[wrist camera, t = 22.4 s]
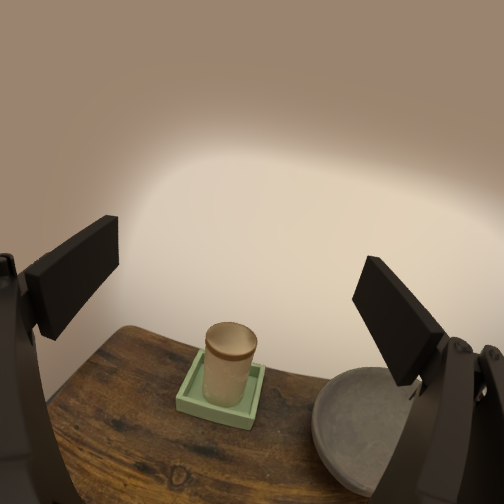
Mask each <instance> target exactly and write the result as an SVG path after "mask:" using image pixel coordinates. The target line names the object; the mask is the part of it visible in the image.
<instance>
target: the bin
mask: <svg viewBox="0 0 504 504" xmlns="http://www.w3.org/2000/svg"><path fill="white" fill-rule="evenodd" d="M204 360H205V350H202V349H200V350H199V352H198V354H197V356H196V358H195V360H194V362H193V364H192V366H191V368H190V370H189V372H188V374H187V376H186V378H185V380H184V382H183V384H182V386H181V388H180V390H179V392H178V394H177V396H176V408H177V411H180V412H183V413H186V414H189V415H193V416H196V417H199V418H202V419H206V420H209V421H213V422H216V423H220V424H224V425H228V426H232V427H236V428H240V429H245V430H249V431H250V430H251V428H252V425H253V422H254V420H255V415H256V411H257V406H258V401H259V396H260V392H261V387H262V382H263V377H264V372H265V367H266V366H265V365H261V364H256V363H251V367H250V371H249V375H248V379H247V383H246V387H245V391H244V395H243V398H242V400H241V402H240V403H239V404H237V405H236V406H233V407H230V408H223V407H219V406H215V405H212V404H210V403H208V402H207V401H206V400H205V398H204V396H203V394H202V384H203V372H204Z"/></svg>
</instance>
